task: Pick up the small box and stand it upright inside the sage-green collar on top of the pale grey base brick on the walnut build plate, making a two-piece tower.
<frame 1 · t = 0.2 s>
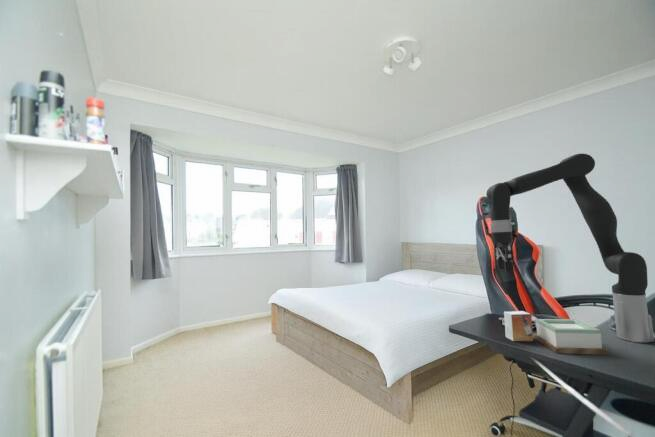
hand: (504, 270, 125), 27 cm above the table, tool pointing down, fingers open, 8 cm apart
small box: (519, 339, 121), on the table
base brick: (566, 332, 112), on the build plate, point 5 cm above the table
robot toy: (519, 327, 137), on the table
build plate: (567, 345, 112), on the table
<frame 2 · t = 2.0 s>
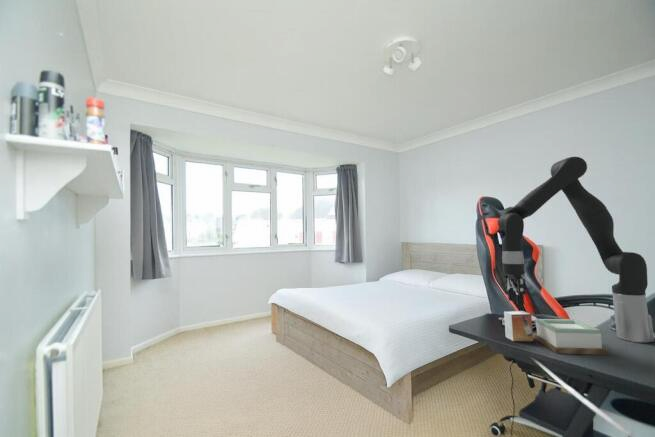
hand: (516, 302, 122), 14 cm above the table, tool pointing down, fingers open, 8 cm apart
nothing on the table moved.
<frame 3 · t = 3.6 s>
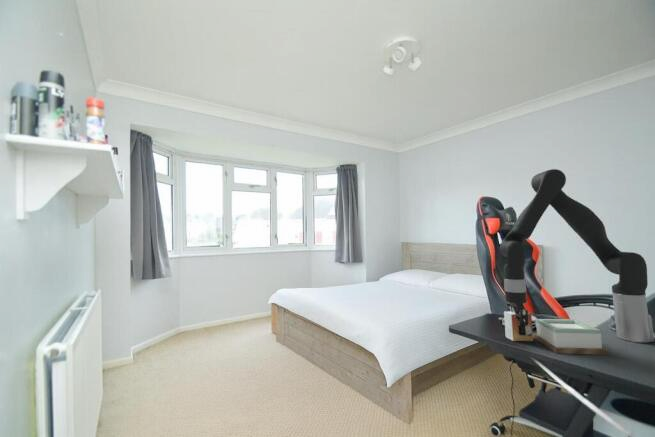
hand: (518, 332, 121), 3 cm above the table, tool pointing down, fingers closed on small box, 6 cm apart
small box: (519, 339, 121), on the table, touching gripper
everything else where it was.
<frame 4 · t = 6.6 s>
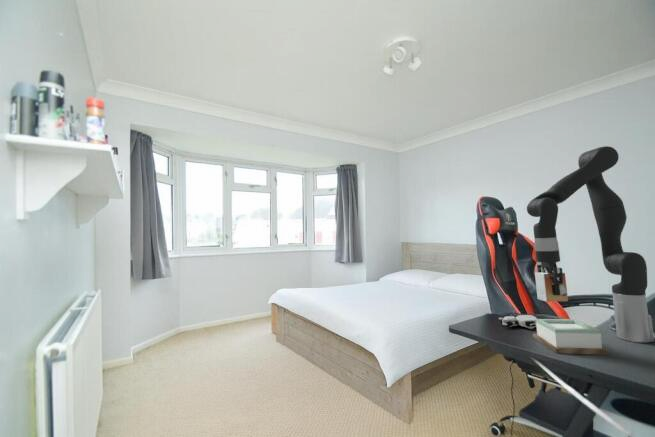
hand: (551, 293, 116), 19 cm above the table, tool pointing down, fingers closed on small box, 6 cm apart
small box: (552, 300, 116), point 16 cm above the table, touching gripper
everything else where it was.
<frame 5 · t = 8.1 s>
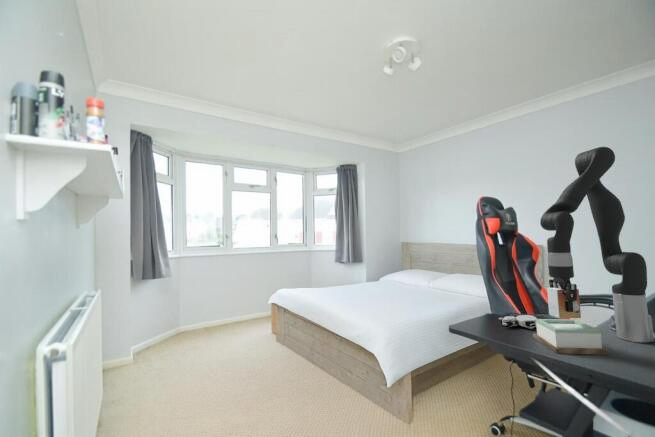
hand: (564, 309, 113), 13 cm above the table, tool pointing down, fingers closed on small box, 6 cm apart
small box: (564, 317, 113), point 10 cm above the table, touching gripper
everything else where it was.
when the fingers open (11 cm above the table, at t = 9.4 s): small box drops 2 cm, resting on base brick.
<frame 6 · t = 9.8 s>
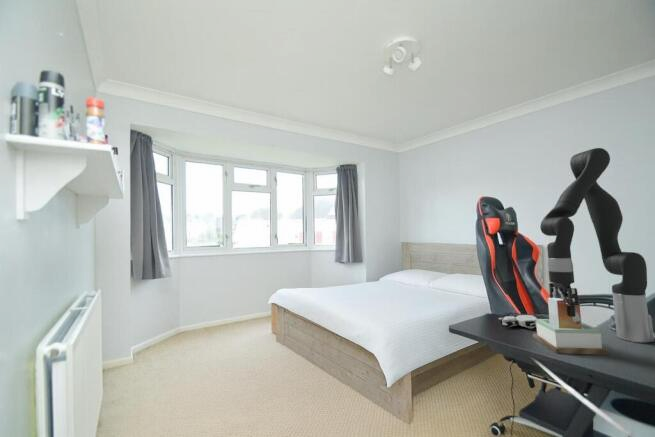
hand: (564, 313, 113), 12 cm above the table, tool pointing down, fingers open, 8 cm apart
small box: (565, 327, 113), point 6 cm above the table, touching base brick
everything else where it was.
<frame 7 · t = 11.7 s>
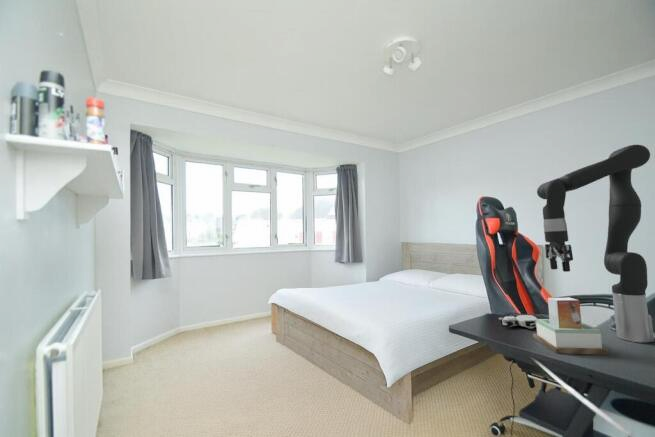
hand: (560, 270, 121), 27 cm above the table, tool pointing down, fingers open, 8 cm apart
nothing on the table moved.
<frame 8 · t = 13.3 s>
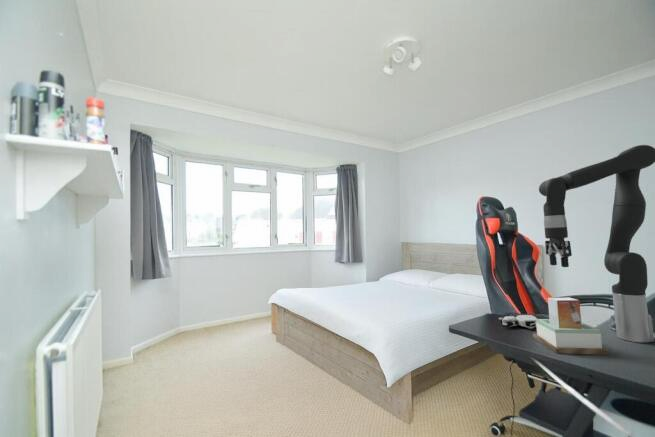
hand: (559, 266, 124), 28 cm above the table, tool pointing down, fingers open, 8 cm apart
nothing on the table moved.
at the end: small box 0.3 cm off-centre on the base brick, point 6.3 cm above the base brick's base; small box tilted 0°; the gripper is holding nothing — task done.
